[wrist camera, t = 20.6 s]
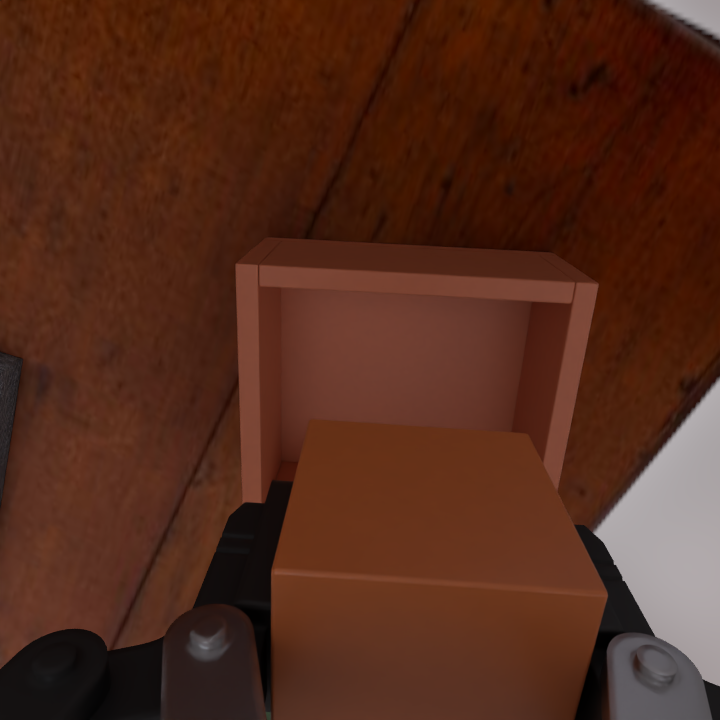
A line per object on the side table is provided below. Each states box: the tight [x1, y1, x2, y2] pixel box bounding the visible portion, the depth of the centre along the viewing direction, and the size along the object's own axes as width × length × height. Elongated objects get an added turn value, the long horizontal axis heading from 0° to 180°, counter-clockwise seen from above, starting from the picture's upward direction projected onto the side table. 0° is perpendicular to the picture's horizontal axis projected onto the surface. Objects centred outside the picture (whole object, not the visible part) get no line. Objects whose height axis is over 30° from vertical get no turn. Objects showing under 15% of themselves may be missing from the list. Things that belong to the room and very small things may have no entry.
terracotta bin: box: [235, 237, 599, 504], centre depth 25 cm, size 13×12×6 cm
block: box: [271, 419, 608, 720], centre depth 11 cm, size 4×4×4 cm
